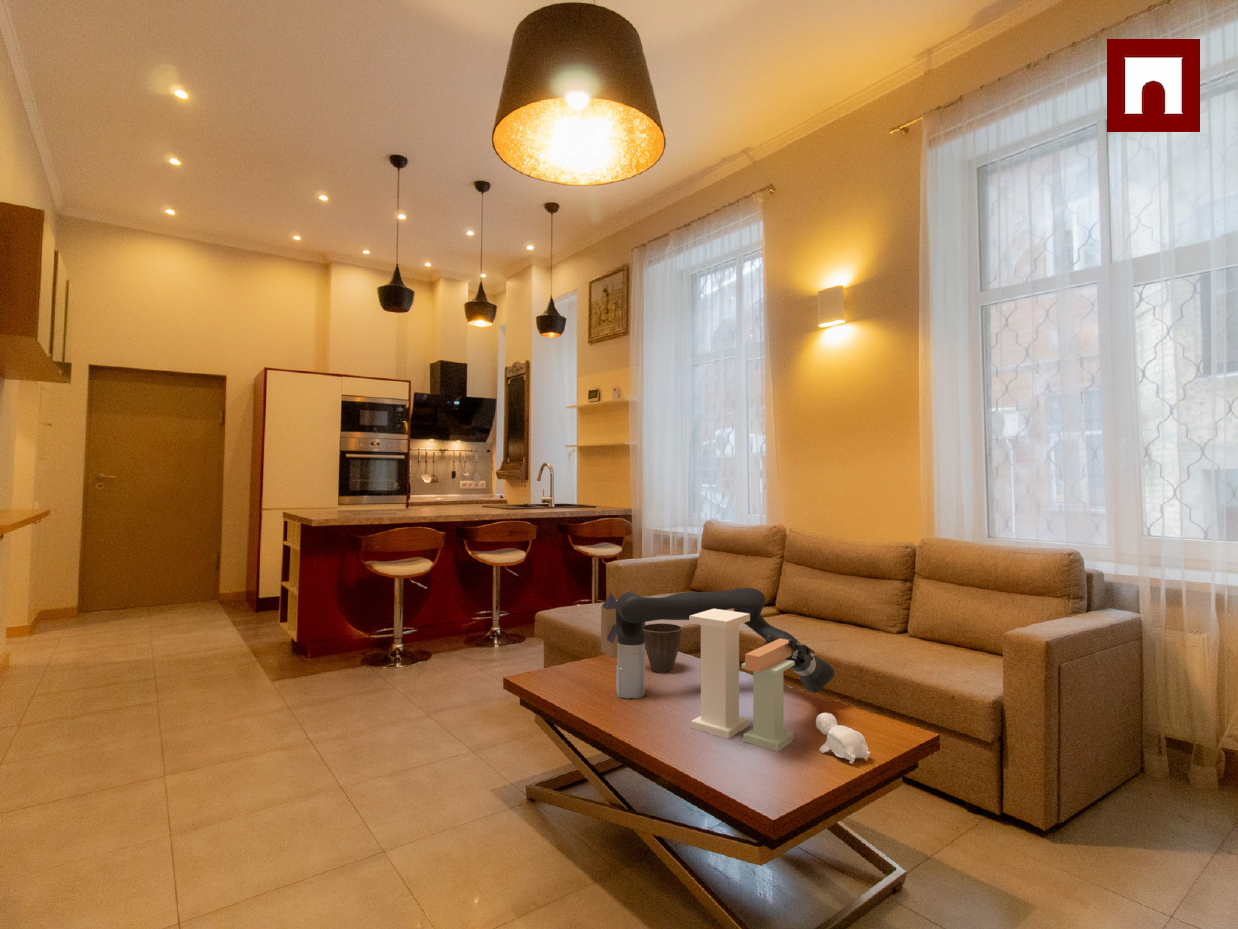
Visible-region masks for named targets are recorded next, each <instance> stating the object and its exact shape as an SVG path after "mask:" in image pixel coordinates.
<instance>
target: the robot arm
mask: <svg viewBox="0 0 1238 929" xmlns="http://www.w3.org/2000/svg"><path fill="white" fill-rule="evenodd" d="M616 601H617V604H616V632H617V659H616V660H617V661H616V662H617V663H616V676H615V677H616V678H615V679H616V680H615V682H616V683H615V684H616V685H615V688H616V690H615V693H616V695H617V698H624V699H630V698H633V699H639V698H643V697H644V696H645V695H646V651H645V633H644V630H643V622H645V623H647V622H653V621H661V620H662V621H665V620H668V621H689V616H690V615H694V614H697V613H700V612H704V611H707V610H711V609H721V610H727V611H729V610H733V611H734V612H741V613H748V614H750V621H748V622H745V623H744V624H745V626H747V627H748V628H749V629H751V630H752V631H753V632H755V633H756V634H757V635H759V636H760V637H762V639H764V640H765V644H764V645H766V644H769V643H771V642H773V641H775V640H777V639H786V640H789V641H788V647H789V648H790V649H792V650H793V655H792V656H790V657H788V658H786V659H785V660H791V661H795V665H794V666H792V667H790V668H789V669H791V670H792V671H793V672H794V673H795V674H797V675H798V676H799V679H800V682H801V684H802V685H803V686H804V688H805V689H806V690H807V691H808V692H811V693H814V694H815V693H819V692H821V690H823V689H824V688H825V687H826V686H827V685H828V683H829V682H830V681H832V680H833V679H834V676H835V670H834V668H833V667H832V665H831V664H830V663H828V662H827V661H825V660H824V659H821V658H820V657H819V656H816V655H815V651H814V650H813V649H812V648H811V647H809V646H808V645H806V644H802V643H800V641H799V640H798V639H797V638H795V636H793V635H792V634H791V633H789V632H787V631H785V630H783V629H780V628H777V627H775V626H773V625H771V624H770V623H768V622H767V621H766V620H765V618H764V617H763V616H762V615H761V613H762V611H763V610H764V607H765V604H766V596H765V594H764V593H763V592H762V591H761V590H759V589H757V588H755V587H754V588H753V587H743V588H741V587H740V588H735V589H729V590H719V591H717V590H716V591H693V592H692V591H690V592H689V591H687V592H686V591H684V592H679V593H678V592H677V593H674V594H671V595H668V596H663V597H662V596H661V597H651V596H649V597H647V596H640V595H639V594H637V593H635V592H633V591H632V592H630V591H627V592H624V593H621V595H619V597H618V599H617V600H616Z"/></svg>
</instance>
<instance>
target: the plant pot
mask: <svg viewBox="0 0 1238 929" xmlns="http://www.w3.org/2000/svg"><path fill="white" fill-rule="evenodd" d="M643 630H644V633H645V648H646V651H645V653H646V655H647V657H648V662H649V664H650V667H651V670H652V671H653V672H654V671H657V672H662V673H661V674H666V673H665V672H668V673H670V671H671V672H672V671H673V668H674V666H675V663H676V658H677V656H678V652H679V647H680V642H681V636H682V635H681V634H682V630H683V628H682V626H680V625H678V624H673V623H650V624H645V626H643ZM657 672H656V673H657Z"/></svg>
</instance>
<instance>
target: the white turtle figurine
mask: <svg viewBox="0 0 1238 929" xmlns="http://www.w3.org/2000/svg"><path fill="white" fill-rule="evenodd" d="M815 727H816V728H817V730H818V731H819V732H821V734H822V735H825V736H826V741H825V743H823V744H822V745H821V746H820V748H819V752H820V751H821V752H822V753H821V752H820V753H821V754H824V753H827V752H830V751H832V753H833V754H834V755H835V756H836V757H838V758H842V759H843V758H844V759H845V760H847V761H849V760H850V761H849V763H853V762H854V763H855V758H857V759H863V760H864V759H867V758H869V756H870V754H871V752H870V751H869V746H868V745H867V742H866V739H865V736H864V735H863V734H862V733H861V732H859V731H857V730H855V729H854V728H851V727H848V726H847V725H842V724H841V725H840V724H838V720H837V718H836V717H835V716H834V714H832V713H829V712H822V713H819V714H818V715H817V716H816V719H815ZM869 759H870V758H869ZM849 763H848V764H849ZM854 763H853V764H854Z"/></svg>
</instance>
